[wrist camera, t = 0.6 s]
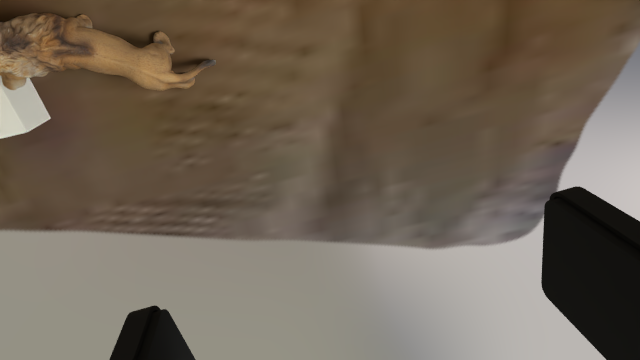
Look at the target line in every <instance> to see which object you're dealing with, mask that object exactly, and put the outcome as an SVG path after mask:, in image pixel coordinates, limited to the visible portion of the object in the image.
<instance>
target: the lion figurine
mask: <svg viewBox="0 0 640 360" xmlns="http://www.w3.org/2000/svg"><path fill="white" fill-rule="evenodd" d="M92 28H93V27H92V22H91V20H90V19H89V18H88V17H87V16H86V15H83V14H82V15H79V16H77V18H74V17H70V18H67V19H64V18H62V17H61V16H58V15H56V14H50V13H42V14H37V13H32V14H29V15H24V16H18V17H16V18H13V19H11V20H10V21H7V22H0V75H1V78H2V83H3V85H4V86H5V87H6V88H8V89H9V90H17V89H18V88H20V87H23V86H24V85H25V84H26V78H31V77H33V76H39V77H42V76H45V75H47V74H48V73H49V72H59V71H64V70H66V69H67V68H69V69H80V68H85V69H88V70H90V71H94V72H98V73H104V74H111V75H121V76H125V77H127V78H129V79H130V80H132V81H133V82H135V83H136V84H138V85H139V86H141V87H143V88H146V89H153V90H160V91H162V90H166V89H169V88H173V87H179V88H189V87H191V86H192V85H194V83H195V78H194V77H195V76H196V75H197V74H198V73H199V72H200V71H202V70H203V69H205V68H209V67H211V66H213V65H215V64H216V61H215V60H206V61H203V62H202V63H200V64H199V65H198V66H196V67H195V68H194V69H192V70H191V71H189V72H186V73H183V74H175V73H174V71H172V70H171V67H172V61H171V57H170V54H173V53H174V48H173V47H172V45H171V43H170V40H169V38H168V37H167V36H166V35H165V34H164V33H163V32H161V31H159V32H156V33H155V34H154V36H153V41H154V43H151V44H149V45H147V46H145V47H143V48H137V47H135V46H133V45H132V44H130V43H128V42H127V41H125V40H123V39H121V38H119V37H117V36H114V35H111V34H108V33H105V32H102V31H99V30H96V29H92Z"/></svg>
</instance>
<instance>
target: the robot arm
mask: <svg viewBox="0 0 640 360" xmlns="http://www.w3.org/2000/svg"><path fill="white" fill-rule="evenodd" d="M542 288H543V291H544V293H545V295H546V297H547V298H548V299H549V300H550V301H551V302H552V303H553V304H554V305H555V306H556V307H557V308H558V309H559V311H560V312H562V314H563V315H564V316H565V317H566V318H567V319H568V320H569V321H570V322H571V323H572V324H573V325H574V326H575V327H576V328H577V329H578V330H579V331H580V332H581V333H582V335H584V336H585V338H586V339H587V340H588V341H589V342H590V343H591V344H592V345H593V346H594V347H595V348H596V349H597V350H598V351H599V352H600V353H601V354H602V355H603V356H604V357H605V358H606V360H640V221H638V220H636V219H635V218H633V217H631V216H629V215H628V214H626V213H624V212H623V211H621V210H619V209H618V208H616V207H614V206H613V205H611V204H609V203H607V202H606V201H604V200H602V199H601V198H599V197H597V196H596V195H594V194H592V193H591V192H589V191H587V190H586V189H584V188H581V187H573V188H569V189H566V190H562V191H558V192H555V193H553V194H552V195H551V196H550V200H549V201H547V202H546V203H545V210H544V234H543V258H542ZM110 360H195V358H194V356H193V354H192V353H191V351H190V349H189V347H188V346H187V344H186V342H185V340H184V339H183V337H182V335H181V333H180V331H179V330H178V328H177V326H176V324H175V322H174V321H173V319H172V317H171V315H170V313H169V312H168V311H167V310H165V309H163V310H160V308H159V307H157V306H151V307H148V308H144V309H141V310H137V311H133V312H131V313H129V314H128V316H127V318H126V320H125V323H124V325H123V328H122V330H121V333H120V335H119V338H118V340H117V343H116V345H115V348H114V350H113V352H112V355H111V357H110Z"/></svg>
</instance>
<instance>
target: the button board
mask: <svg viewBox="0 0 640 360" xmlns="http://www.w3.org/2000/svg"><path fill="white" fill-rule="evenodd" d="M49 119H51V118H50V116H49V114H48V112H47V110H46V108H45V106H44V105H43V103H42V101H41V99H40V97H39V95H38V93H37V91H36V90H35V88H34V86H33V84H32V82H31V80H30V78H26V84H25V85H24V86H23V87H20V88H18V89H17V90H9V89H8V88H6V87H5V86H4V85H3V83H2V78H1V75H0V139H1V138H5V137H9V136H14V135H18V134H22V133H26V132H29V131H30V130H32V129H34V128H36V127H37V126H39V125H41V124H42V123H44V122H46V121H48V120H49Z"/></svg>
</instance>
